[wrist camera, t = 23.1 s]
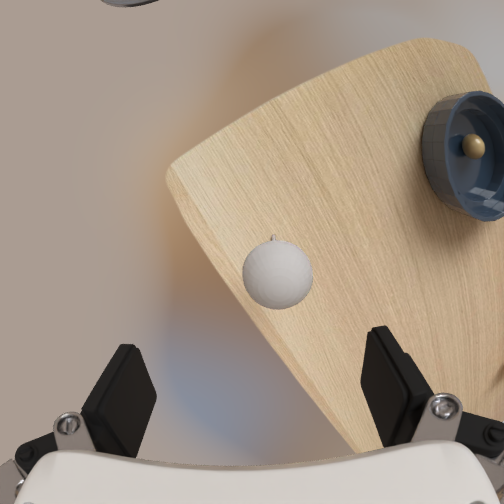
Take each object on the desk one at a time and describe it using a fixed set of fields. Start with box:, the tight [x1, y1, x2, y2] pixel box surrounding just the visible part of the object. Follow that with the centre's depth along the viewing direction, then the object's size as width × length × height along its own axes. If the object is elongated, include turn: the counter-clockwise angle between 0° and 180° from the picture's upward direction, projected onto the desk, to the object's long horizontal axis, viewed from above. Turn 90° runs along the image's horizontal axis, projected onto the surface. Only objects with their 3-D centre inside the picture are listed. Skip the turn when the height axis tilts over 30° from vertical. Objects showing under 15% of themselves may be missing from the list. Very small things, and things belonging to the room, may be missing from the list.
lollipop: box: [243, 234, 313, 310], centre depth 29 cm, size 6×6×15 cm
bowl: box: [422, 91, 504, 222], centre depth 29 cm, size 17×17×6 cm
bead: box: [462, 134, 485, 159], centre depth 29 cm, size 4×4×4 cm
